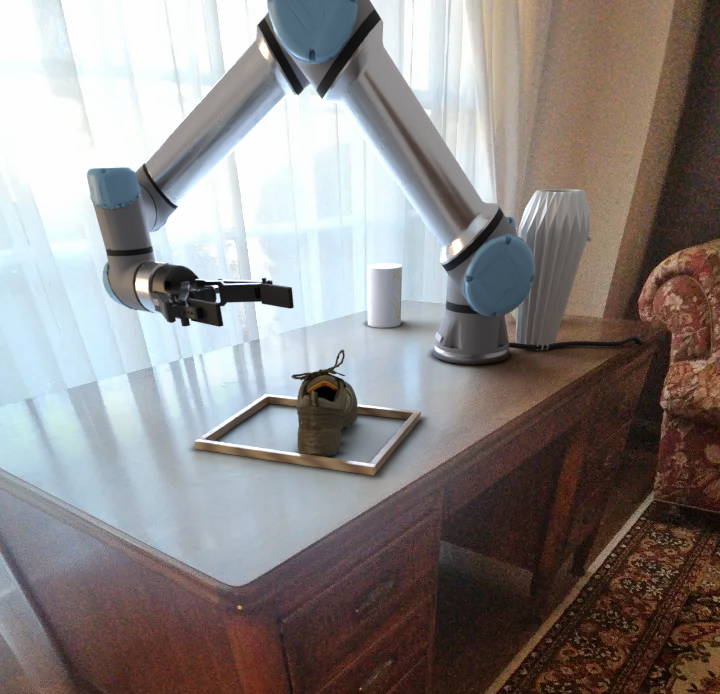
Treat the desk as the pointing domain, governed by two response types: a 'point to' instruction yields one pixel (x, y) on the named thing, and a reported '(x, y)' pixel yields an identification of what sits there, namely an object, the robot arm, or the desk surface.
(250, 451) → the wooden frame
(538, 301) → the vase
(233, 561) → the desk surface
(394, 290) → the cup
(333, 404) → the hiking shoe
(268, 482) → the desk surface
